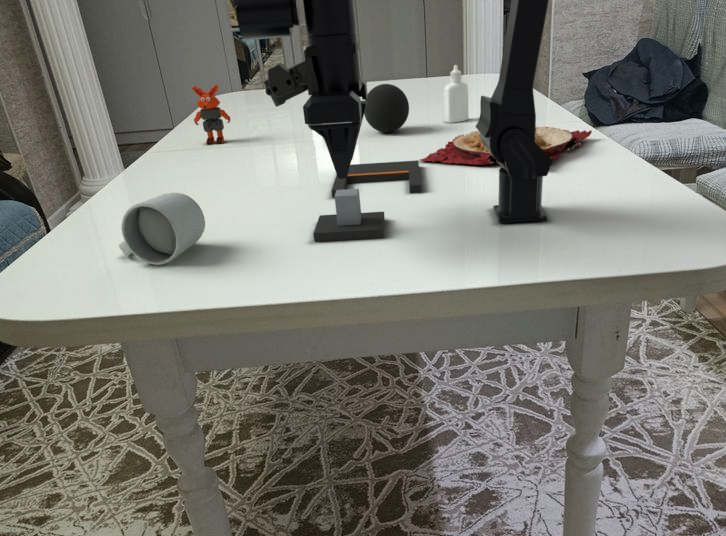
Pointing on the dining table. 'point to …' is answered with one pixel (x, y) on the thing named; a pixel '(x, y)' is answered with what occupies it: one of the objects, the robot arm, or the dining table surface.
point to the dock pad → (381, 174)
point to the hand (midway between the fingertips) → (345, 168)
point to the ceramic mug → (162, 228)
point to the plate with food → (474, 152)
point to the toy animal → (210, 114)
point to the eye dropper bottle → (456, 98)
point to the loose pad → (349, 231)
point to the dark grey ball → (386, 108)
